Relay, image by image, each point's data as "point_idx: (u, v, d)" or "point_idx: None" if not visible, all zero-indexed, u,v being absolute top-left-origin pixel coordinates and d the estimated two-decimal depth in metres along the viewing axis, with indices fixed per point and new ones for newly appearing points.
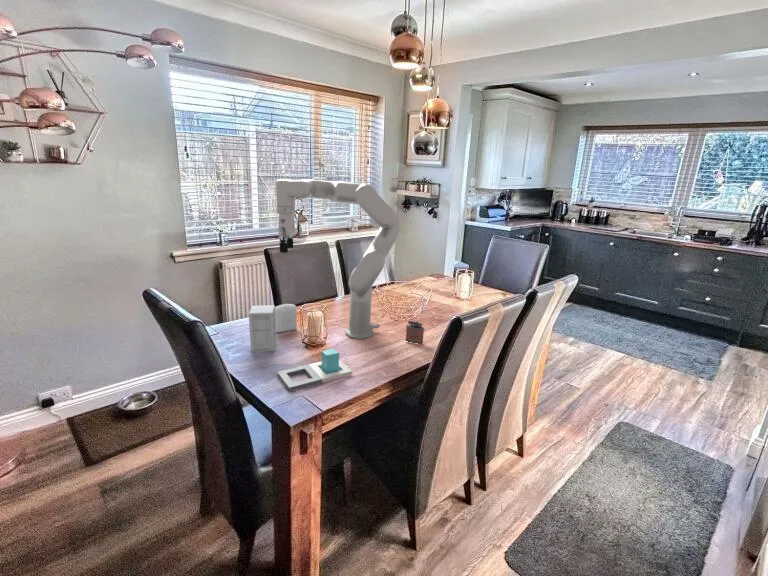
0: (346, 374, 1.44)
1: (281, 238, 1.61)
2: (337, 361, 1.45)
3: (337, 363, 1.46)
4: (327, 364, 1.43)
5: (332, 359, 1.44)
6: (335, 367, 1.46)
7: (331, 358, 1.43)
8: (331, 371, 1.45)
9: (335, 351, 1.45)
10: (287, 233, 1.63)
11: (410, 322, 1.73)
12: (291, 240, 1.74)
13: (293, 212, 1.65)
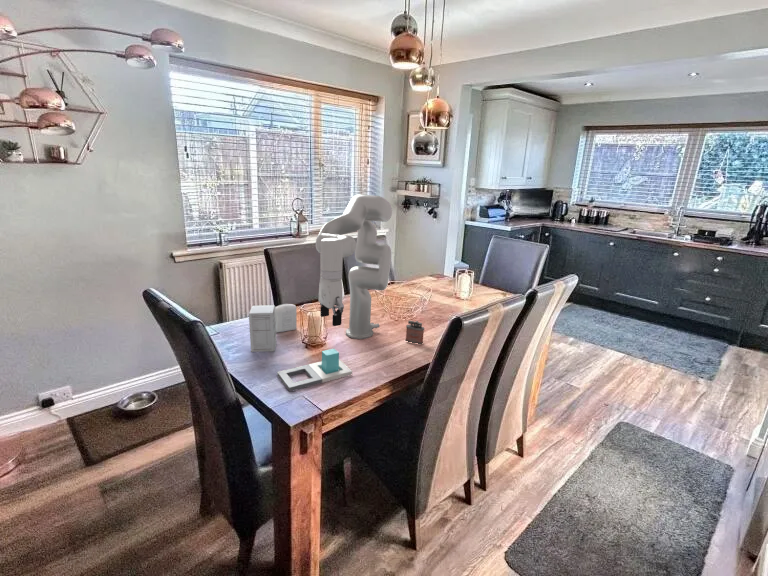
0: (346, 374, 1.44)
1: None
2: (337, 361, 1.45)
3: (337, 363, 1.46)
4: (327, 364, 1.43)
5: (332, 359, 1.44)
6: (335, 367, 1.46)
7: (331, 358, 1.43)
8: (331, 371, 1.45)
9: (335, 351, 1.45)
10: None
11: (410, 322, 1.73)
12: None
13: (320, 276, 1.36)
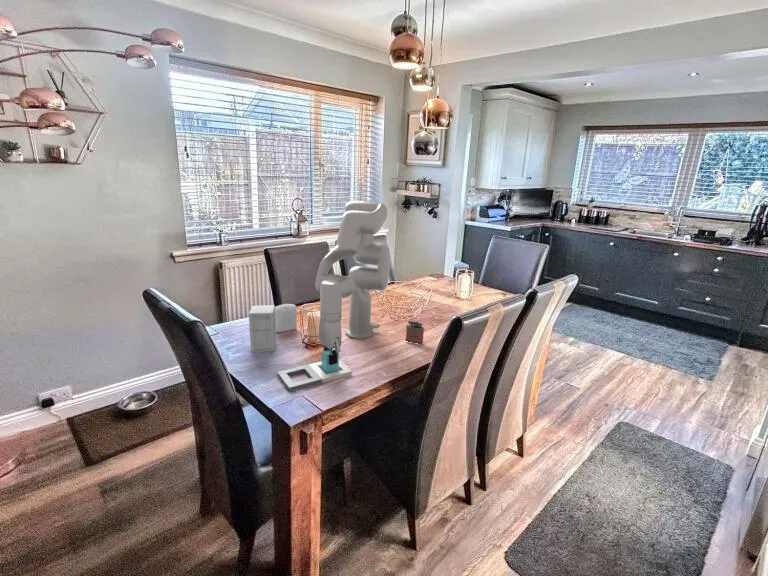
0: (346, 374, 1.44)
1: None
2: (337, 361, 1.45)
3: (337, 363, 1.46)
4: (327, 364, 1.43)
5: None
6: (335, 366, 1.46)
7: None
8: (331, 371, 1.45)
9: None
10: None
11: (410, 322, 1.73)
12: None
13: (320, 317, 1.40)
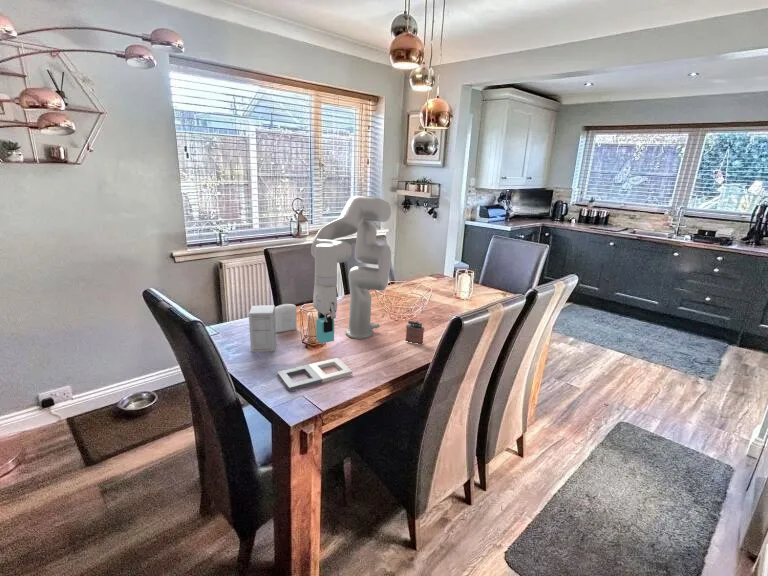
0: (346, 374, 1.44)
1: None
2: None
3: (332, 331, 1.40)
4: (322, 331, 1.38)
5: None
6: (331, 335, 1.40)
7: None
8: (326, 339, 1.40)
9: None
10: None
11: (410, 322, 1.73)
12: None
13: None
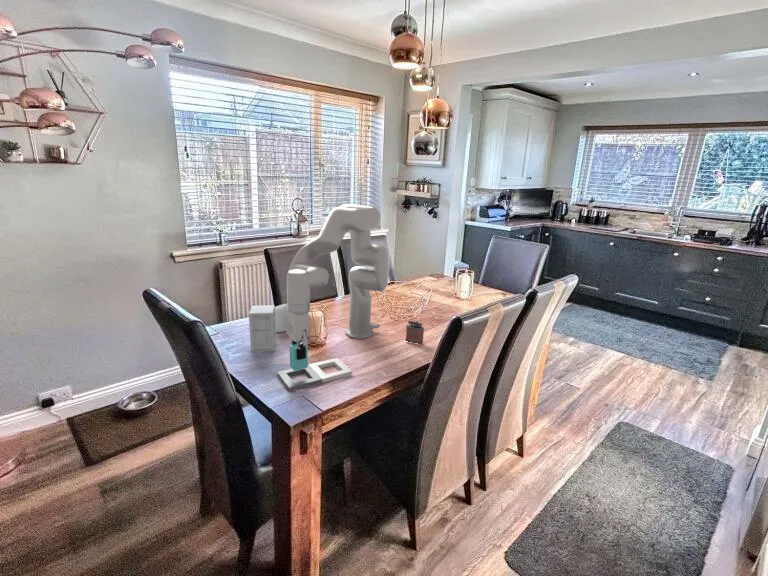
0: (346, 374, 1.44)
1: None
2: (306, 356, 1.37)
3: (306, 358, 1.37)
4: (295, 359, 1.35)
5: None
6: (304, 362, 1.37)
7: None
8: (299, 366, 1.37)
9: None
10: None
11: (410, 322, 1.73)
12: None
13: (287, 308, 1.32)
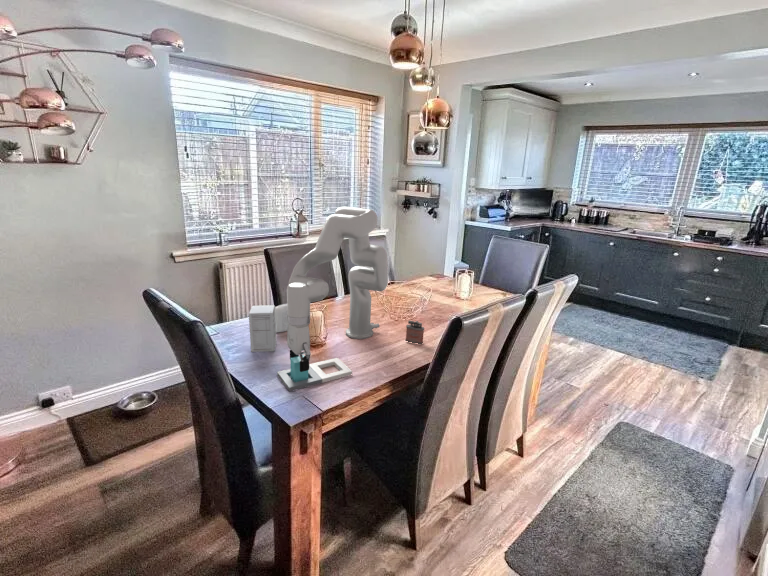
0: (346, 374, 1.44)
1: None
2: None
3: (306, 371, 1.39)
4: (295, 372, 1.37)
5: None
6: (305, 374, 1.39)
7: (299, 366, 1.37)
8: (300, 379, 1.39)
9: None
10: None
11: (410, 322, 1.73)
12: None
13: (287, 321, 1.33)
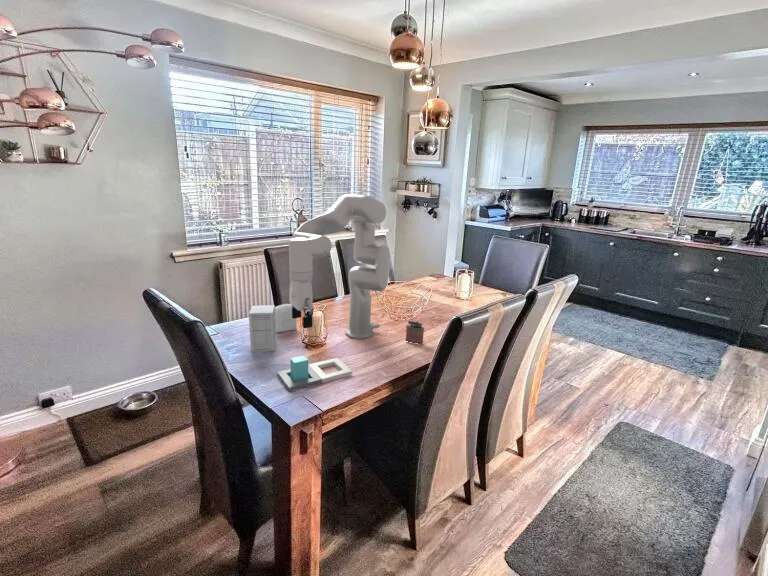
0: (346, 374, 1.44)
1: None
2: (306, 368, 1.39)
3: (306, 371, 1.39)
4: (295, 372, 1.37)
5: (301, 366, 1.37)
6: (305, 374, 1.39)
7: (299, 366, 1.37)
8: (300, 379, 1.39)
9: (304, 358, 1.39)
10: None
11: (410, 322, 1.73)
12: None
13: None
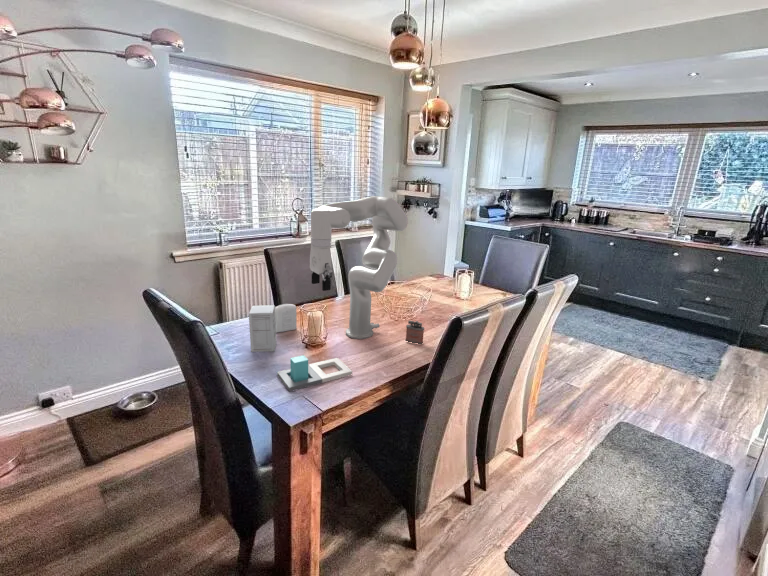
0: (346, 374, 1.44)
1: None
2: (306, 368, 1.39)
3: (306, 371, 1.39)
4: (295, 372, 1.37)
5: (301, 366, 1.37)
6: (305, 374, 1.39)
7: (299, 366, 1.37)
8: (300, 379, 1.39)
9: (304, 358, 1.39)
10: None
11: (410, 322, 1.73)
12: None
13: (311, 244, 1.47)
